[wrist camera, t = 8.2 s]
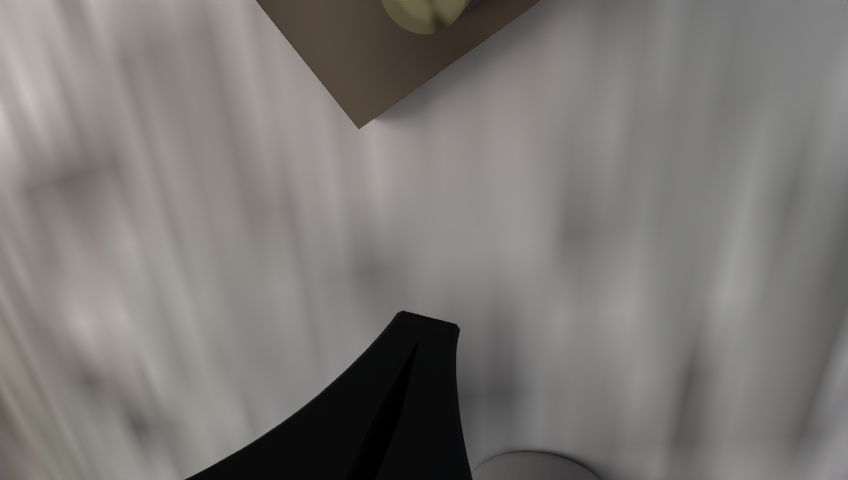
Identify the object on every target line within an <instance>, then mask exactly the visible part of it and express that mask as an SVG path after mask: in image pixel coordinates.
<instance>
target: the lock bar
mask: <svg viewBox="0 0 848 480" xmlns="http://www.w3.org/2000/svg"><path fill="white" fill-rule="evenodd" d="M381 1H382V4H383V6H384V8H385V10H386V12H387V13H388V15H389V16H390V17H391V18H392V20H393V21H394V22H396V23H397V24H398V25H399V26H401V27H402V28H404V29H406V30H408V31H410V32H413V33H417V34H432V33H437V32H439V31H442V30H444V29H446V28H447V27H448V26H450V25H451V24H452V23H453V22H454V21H455V20H456V19H457V18H458V16H459V15H460V14H461V13H462V11H463V10H464V9H465V8H466V7H467V5H468V4H469V3H470V2H471V0H381Z"/></svg>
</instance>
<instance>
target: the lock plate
mask: <svg viewBox="0 0 848 480" xmlns="http://www.w3.org/2000/svg"><path fill="white" fill-rule="evenodd" d="M256 1H257V2H258V4H259V5H260V6H261V7H262V9H263V10H264V11H265V12H266V14H267V15H268V16H269V17H270V19H271V20H272V21H273V23H274V24H275V25H276V26H277V28H278V29H279V30H280V31H281V33H282V34H283V35H284V36H285V38H286V39H287V40H288V41H289V43H290V44H291V45H292V46H293V48H294V49H295V50H296V51H297V53H298V54H299V55H300V56H301V58H302V59H303V60H304V61H305V63H306V64H307V65H308V66H309V68H310V69H311V70H312V71H313V73H314V74H315V75H316V76H317V78H318V79H319V80H320V81H321V83H322V84H323V85H324V86H325V88H326V89H327V90H328V91H329V93H330V94H331V95H332V96H333V98H334V99H335V100H336V101H337V103H338V104H339V105H340V106H341V108H342V109H343V110H344V111H345V113H346V114H347V115H348V117H349V118H350V119H351V120H352V122H353V123H354V124H355V125H356V127H357V128H358V129H360V128H361V127H363V126H364V125H366V124H367V123H368V122H370V121H371V120H373V119H374V118H376V117H377V116H378V115H380V114H381V113H383V112H384V111H385V110H387V109H388V108H390V107H391V106H392V105H394V104H395V103H397V102H398V101H399V100H401V99H402V98H404V97H405V96H406V95H408V94H409V93H411V92H412V91H414V90H415V89H416V88H418V87H419V86H421V85H422V84H423V83H425V82H426V81H428V80H429V79H430V78H432V77H433V76H435V75H436V74H437V73H439V72H440V71H442V70H443V69H445V68H446V67H447V66H449V65H450V64H452V63H453V62H454V61H456V60H457V59H459V58H460V57H461V56H463V55H464V54H466V53H467V52H468V51H470V50H471V49H473V48H474V47H476V46H477V45H478V44H480V43H481V42H483V41H484V40H485V39H487V38H488V37H490V36H491V35H492V34H494V33H495V32H497V31H498V30H499V29H501V28H502V27H504V26H505V25H506V24H508V23H509V22H511V21H512V20H514V19H515V18H516V17H518V16H519V15H521V14H522V13H523V12H525V11H526V10H528V9H529V8H530V7H532V6H533V5H535V4H536V3H537V2H539V1H540V0H471V2H470V3H469V4H468V5H467V7H466V8H465V9H464V10H463V11H462V13H461V14H460V15H459V16H458V18H457V19H456V20H455V21H454V22H453V23H452V24H451V25H450V26H448V27H447V28H446V29H444V30H442V31H439V32H437V33H432V34H417V33H413V32H410V31H408V30H406V29H404V28H402V27H401V26H399V25H398V24H397V23H396V22H394V21H393V20H392V18H391V17H390V16H389V15H388V13H387V12H386V10H385V8H384V6H383V4H382V1H381V0H256Z"/></svg>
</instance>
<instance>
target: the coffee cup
mask: <svg viewBox="0 0 848 480" xmlns="http://www.w3.org/2000/svg"><path fill="white" fill-rule="evenodd" d="M471 475H472V479H473V480H600V479H599V478H598V477H597V476H595V475H594V474H593V473H592V472H590V471H589V470H587V469H586V468H584V467H582V466H580V465H578V464H576V463H574V462H572V461H570V460H567V459H565V458H562V457H559V456H555V455H551V454H546V453H540V452H513V453H506V454H502V455H499V456H496V457H493V458H491V459H489V460H487V461H485V462H484V463H482V464H481V465H480V466H479V467H477V468H476V470H475V471H474V472H473V473H472V474H471Z"/></svg>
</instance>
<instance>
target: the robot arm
mask: <svg viewBox="0 0 848 480" xmlns="http://www.w3.org/2000/svg"><path fill="white" fill-rule="evenodd" d="M459 332H460V329H459V327H458V326H457V325H456V324H454V323H450V322H446V321H442V320H438V319H434V318H430V317H426V316H422V315H418V314H414V313H410V312H406V311H401V312H399V313H397V314H396V316H395V317H394V318H393V320H392V321H391V322H390V323H389V325H388V326H387V327H386V328H385V330H384V331H383V332H382V333H381V334H380V335H379V337H378V338H377V339H376V340H375V341H374V342H373V343H372V344H371V345H370V346H369V348H368V349H367V350H366V351H365V352H364V353H363V354H362V355H361V356H360V357H359V358H358V359H357V360H356V361H355V362H354V363H353V364H352V365H351V366H350V367H349V368H348V369H347V370H346V371H345V372H343V373H342V374H341V375H340V376H339V377H338V378H337V379H336V380H335V381H333V382H332V383H331V384H330V385H329V386H328V387H327V388H325V389H324V390H323V391H322V392H321V393H320V394H319V395H317V396H316V397H315V398H314V399H313V400H311V401H310V402H309V403H308V404H306V405H305V406H304V407H302V408H301V409H300V410H299V411H297V412H296V413H295V414H293V415H292V416H291V417H289V418H288V419H286V420H285V421H284V422H282V423H281V424H279V425H278V426H276V427H275V428H273V429H272V430H270V431H269V432H267V433H266V434H264V435H263V436H262V437H260V438H259V439H257V440H255V441H254V442H252V443H251V444H249V445H247V446H246V447H244V448H242V449H241V450H239V451H237V452H235V453H234V454H232V455H230V456H228V457H226V458H225V459H223V460H221V461H219V462H218V463H216V464H214V465H212V466H210V467H209V468H207V469H205V470H203V471H201V472H199V473H197V474H195V475H193V476H191V477H189V478H187V479H185V480H473V479H472V475H471V471H470V466H469V462H468V458H467V453H466V448H465V443H464V438H463V432H462V426H461V419H460V412H459V404H458V392H457V380H456V350H457V342H458V337H459Z"/></svg>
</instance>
